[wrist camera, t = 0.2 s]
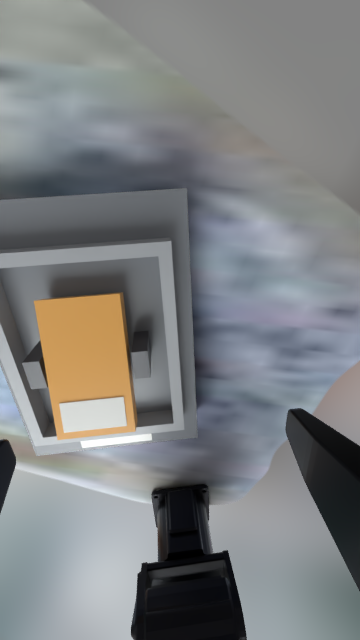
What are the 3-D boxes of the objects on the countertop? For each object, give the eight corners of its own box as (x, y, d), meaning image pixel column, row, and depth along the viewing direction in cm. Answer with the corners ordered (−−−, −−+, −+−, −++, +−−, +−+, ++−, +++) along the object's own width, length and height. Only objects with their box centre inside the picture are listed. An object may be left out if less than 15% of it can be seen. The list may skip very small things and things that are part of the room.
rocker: (137, 420, 19) (135, 432, 18) (65, 428, 19) (57, 440, 17) (122, 292, 18) (119, 293, 16) (43, 298, 17) (33, 300, 16)
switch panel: (193, 413, 27) (202, 465, 22) (48, 428, 26) (22, 487, 21) (182, 189, 18) (193, 186, 13) (-31, 202, 18) (-109, 205, 12)
